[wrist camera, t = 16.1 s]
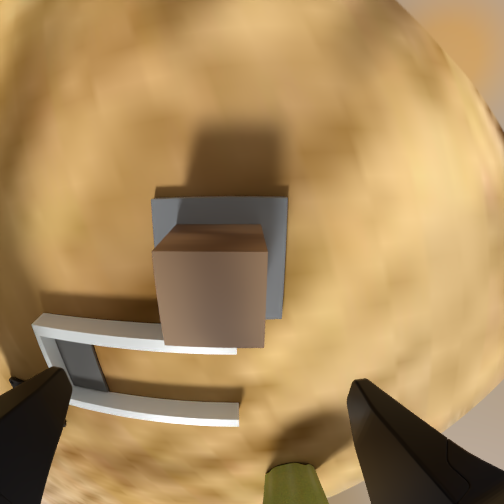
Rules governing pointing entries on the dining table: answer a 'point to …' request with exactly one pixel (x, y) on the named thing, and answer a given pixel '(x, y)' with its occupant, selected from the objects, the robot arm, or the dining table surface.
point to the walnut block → (212, 285)
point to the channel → (93, 382)
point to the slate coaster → (233, 212)
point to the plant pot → (293, 485)
